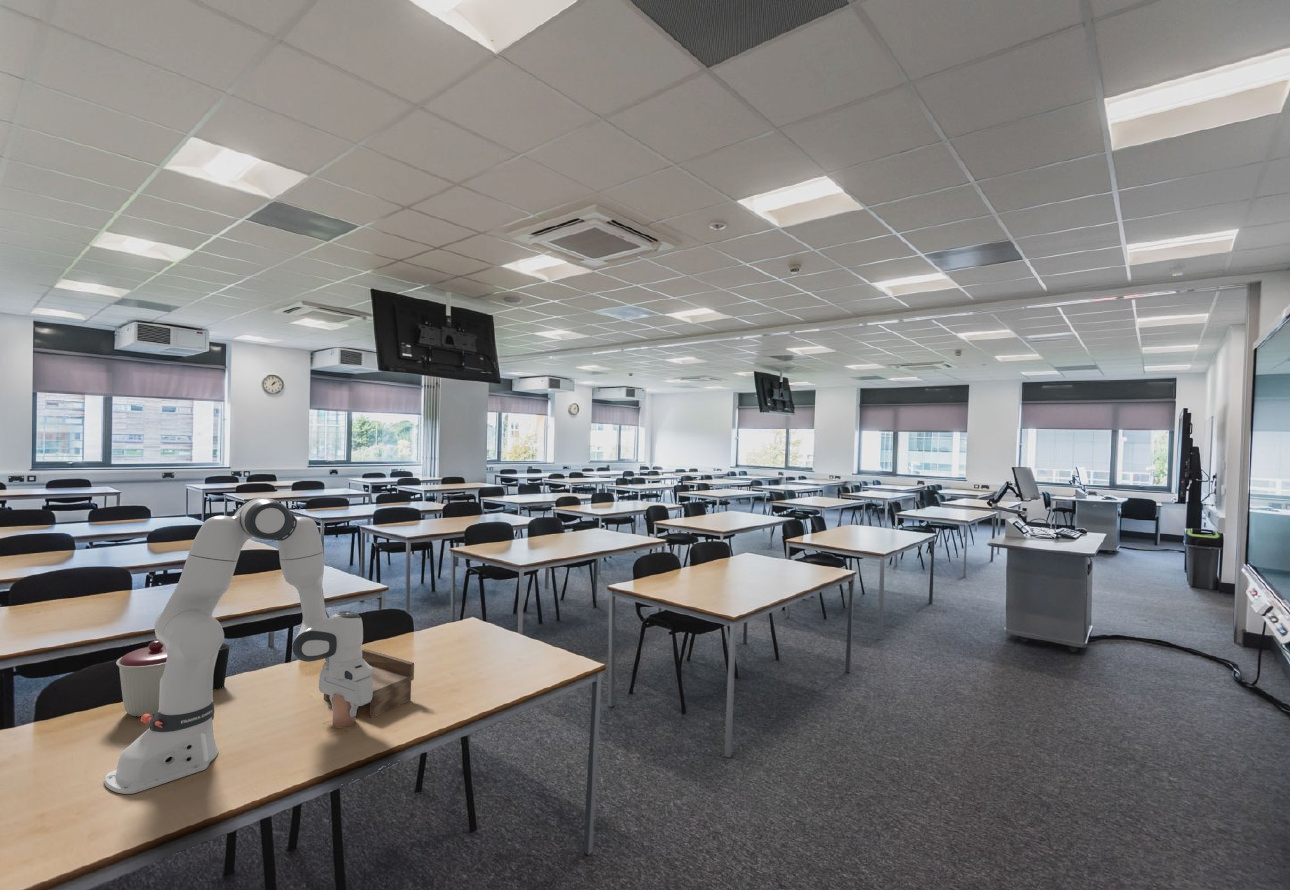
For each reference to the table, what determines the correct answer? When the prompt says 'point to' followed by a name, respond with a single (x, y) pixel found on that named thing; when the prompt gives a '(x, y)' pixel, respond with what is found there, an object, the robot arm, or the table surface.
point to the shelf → (387, 681)
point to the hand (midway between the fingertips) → (344, 712)
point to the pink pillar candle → (341, 712)
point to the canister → (142, 678)
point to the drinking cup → (221, 666)
